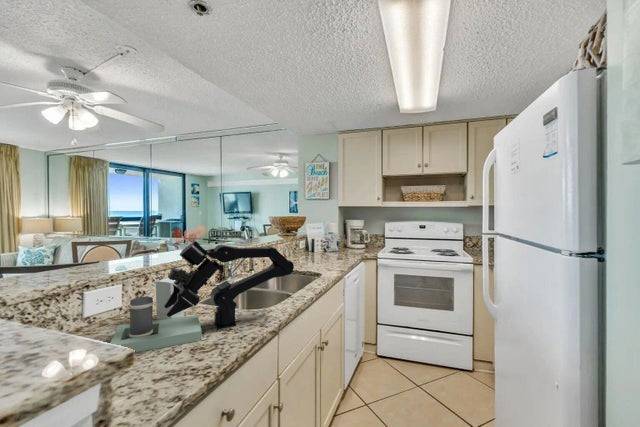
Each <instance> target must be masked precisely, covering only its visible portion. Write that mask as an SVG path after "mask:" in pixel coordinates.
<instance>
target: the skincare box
mask: <svg viewBox="0 0 640 427" xmlns="http://www.w3.org/2000/svg"><path fill="white" fill-rule="evenodd" d="M175 281H176V280H171V279H169V277H166V278H162V279H160V280H156V281H155V304H156V320H163V319H170V318H177V317H184V316H185V314H184V313H185V310H183V311H180V312H178V313H176V314H174V315H172V316H170V317H168V316H167V313H168V312H169V310H170V309H171V308H172V306H173V305H172V306H170V307H168V308H165V307H164V306H165V304H166V303H167V301H168V299H169V298H170V296H171V294H172V293H173V284H174V282H175ZM174 285H175V284H174ZM175 286H176V285H175Z"/></svg>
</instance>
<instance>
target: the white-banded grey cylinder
mask: <svg viewBox="0 0 640 427" xmlns="http://www.w3.org/2000/svg"><path fill="white" fill-rule="evenodd" d="M153 306H154V297H152V296H142V297H141V296H140V297H139V296H138V297H134V298H132V299H130V301H129V324H130V333H129V337H128V338H129V339H131V338H137V337H144V336H150V335H153V334H154V333H153V329H152V321H153V312H154V311H153V310H154V309H153Z"/></svg>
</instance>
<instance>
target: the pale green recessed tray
mask: <svg viewBox="0 0 640 427" xmlns="http://www.w3.org/2000/svg"><path fill="white" fill-rule="evenodd" d="M201 327H202V326H201V324H200V319H199V316H198V314H193V315H192V314H191V315H186V316H185V315H184V317H177V318H170V319H163V320H158V319H156V320H152V329H153V333H152V335H150V336H144V337H137V338H131V339H130V337H129V333H130V323H128V324H122V325H117V327H116V330H115V331H114V334H113V337H112V339H111V341H110V343H111V344H116V345H121V346H124V347H128V348H131V349H133V350H135V351H136V352H135V353H139V352H140V353H141V352H145V351H151V350H156V349H160V348H167V347H172V346H178V345H183V344H189V343H194V342H199V341H202V340H203V339H202V338H203V336H202V333H203V332H202V328H201ZM126 338H127V339H126Z"/></svg>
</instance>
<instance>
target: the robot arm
mask: <svg viewBox="0 0 640 427" xmlns="http://www.w3.org/2000/svg"><path fill="white" fill-rule="evenodd" d="M179 256H180V257H181V258H182V259H183V260H185V261H186V262H187V263H188V264H189V265H191V266H197V267H196V268H195V269H194V270H190V271H189V272H187V271H186V270H184V269H182V268H175V267H172V268H171V270H170V272H169V274H168V277H167V278H169V279H171V280H176V281H175V282H174V284H175V285H176V286H175V285H174V284H173V293H172V294H171V296H170V298H169V299H168V301H167V303H166V304H165V306H164V307H165V308H168V307H170V306H172V305H173V306H172V308H171V309H170V310H169V312H168V313H167V316H168V317H170V316H172V315H174V314H176V313H178V312H180V311H183V310H184V311H185V310H187V309H190V308H191V307H196V306H197V305H198V304H199V303H200V296H199V295H198V294H199V291H200V290H201V288H203V286H207V284H208V281H209V280H210V279H211V277H212V276H214V274H215V273H217V271H219V272H220V273H224V271H225V270H224V266H225V265H224V263H229V262H233V261H236V260H240V259H252V258H253V259H254V258H255V259H256V258H257V259H259V258H260V259H261V258H268V259H269V260H270V261H271V264H270V265H269V266H268V267H267V268H264V269H263V270H260V271H257V272H256V273H254V274H252V275H249V276H247V277H244V278H243V279H240V280H238V281H236V282H232V283H230V282H229V281H228V280H225V281H222V283H219V284H215V287H213V289H212V290H211V292H210V295H209V296H210V299H211V300H212V302H213V303H214V305H215V306H216V307H215V311H214V316H213V318H214V319H213V323H214V325H215V326H216V328H217V329H224V328H229V327H235V326H237V323H236V308H237V305H238V304H237V302H235V299H236V298H238V296H239V295H240V294H242V293H245V292H246V291H249V290H251V289H254V288H256V287H257V286H259V285H261V284H263V283H265V282H267V281H270V280H272V279H274V278H281V277H286V276H289V275H291V274H293V272H294V270H295V266H294V265H295V264H294V263H293V261H292V260H289V259H287V258H286V257H285V256H284V255H283V254H281V253H280V251H279V250H278V249H277V248H276V247H274V246H260V247H259V246H258V247H257V246H256V247H254V246H253V247H251V246H250V247H237V246H234V245H233V246H231V245H225V244H218V245H216V246H215V247H214V248H210V249H209V248H208V249H205V248H204V247H202V246H201V245H200V243H199V242H197V241H196V240H194V241H193V242H192V243H190V244H189V245H188V246H186V247H185V248H184V249H183V250H181V252H180V253H179ZM208 257H209V258H210V259H212V260H210V259H209V258H208ZM219 262H220V263H222V264H220V263H219Z"/></svg>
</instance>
